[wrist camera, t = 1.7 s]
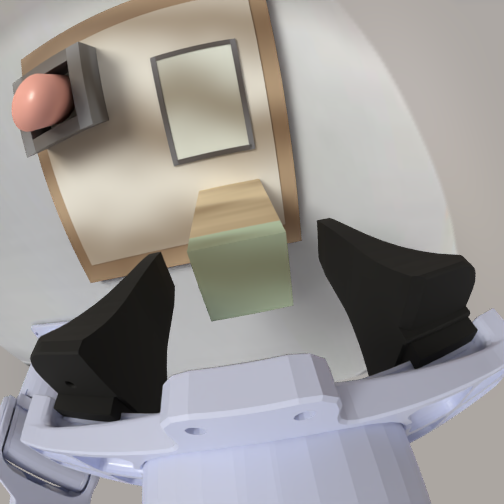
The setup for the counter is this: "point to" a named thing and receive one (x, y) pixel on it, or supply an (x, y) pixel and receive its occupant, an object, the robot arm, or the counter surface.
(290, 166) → the brown framed board
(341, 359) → the counter surface
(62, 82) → the button
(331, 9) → the counter surface
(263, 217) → the green topped wooden block
